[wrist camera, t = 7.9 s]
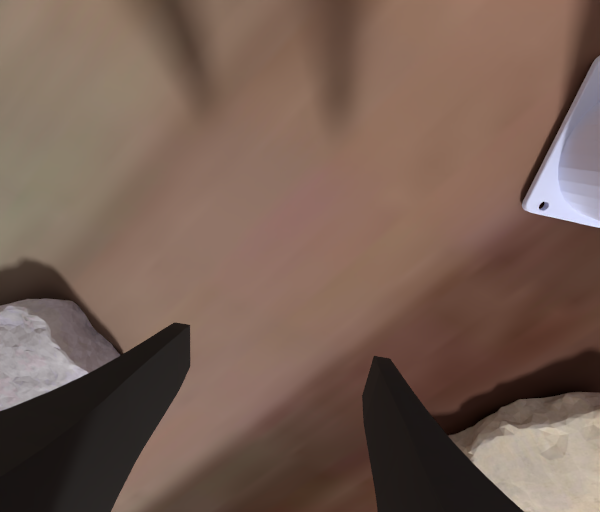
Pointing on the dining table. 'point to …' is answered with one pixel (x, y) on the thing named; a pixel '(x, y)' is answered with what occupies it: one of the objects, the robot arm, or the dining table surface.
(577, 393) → the cream rock
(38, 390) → the stone block
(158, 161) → the dining table surface
